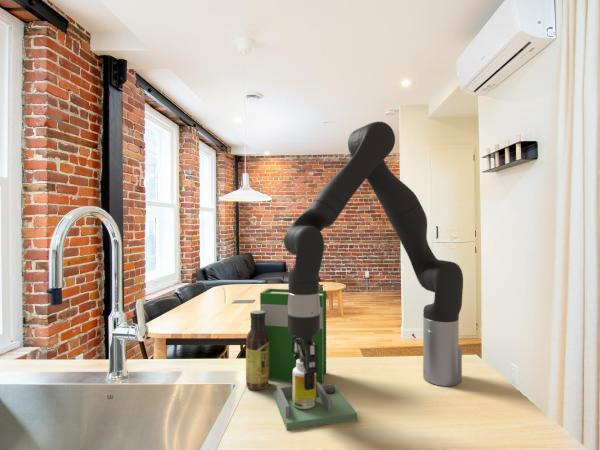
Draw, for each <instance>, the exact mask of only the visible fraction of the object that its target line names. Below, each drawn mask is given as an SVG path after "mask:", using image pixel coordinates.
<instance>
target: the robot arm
mask: <svg viewBox="0 0 600 450" xmlns="http://www.w3.org/2000/svg"><path fill="white" fill-rule="evenodd" d="M395 143H396V135H395V132H394V130H393V128H392V127H391V126H390V125H389V124H388V123H386V122H385V121H384V122H383V121H374V122H370V123H368V124H366V125H364V126H361V127H359V128H357V129H356V130H353V132H351V133H350V135H349V137H348V140H347V147H348V148H347V149H348V151H349V153H350V156H351V158H350V159H349V160H348V161H347V163H346V164H345V165H344V166H343V167H342V168H341V169H339V171H338V172H336V173H335V174H334V176H332V178H330V179H329V181H328V182H326V184H325V185H324V186H323V187H322V188H321V189H320V191H319V192H318V193H317V195H316V196H315V197H314V199H313V201H312V202H311V204H310V205H309V207H308V208H307V209H305V210H304V212H303V213H301V214H300V215H299V216H298V217H297V218H295V219H296V220H294V221H293V222H292V224H291V225H290V226H289V227H288V229H287V230H286V232H285V235H284V237H283V245H284V247H285V249H286V251H288V253H290V254H292V255H293V256H294V255H295V262H294V263H295V264H294V266H293V267H291V269H289V272H288V289H289V295H288V332H289V333H290V334H292V353H294V354H293V356H294V358H295V367H296V360H297V359H299V358H300V362H301V363H302V364H303V369H304V388H305V390H312V389H314V387H315V380H314V373H318V346H317V345H315V344H314V341H313V339H312V336H313V335H315V334H317V333H319V331H320V299H319V291H320V283H319V281H320V279H319V274H320V270H321V267H322V262H323V257H324V252H325V240H324V236H323V233H322V232H321V231H322V230H324V229H325V228H329V227H331V226H332V225H333V224H334V223H335V222H336V220H337V219H338V218H339V216H340V215H341V213H342V212H343V211H344V209H345V207H346V206H347V204H348V203H349V202H350V200H351V199H352V198H353V196H354V195H355V193H356V192H357V190H358V189H359V188H360V187H361V186H362V184H363V183H364V182H365V181H366V180H367V182H368V183H369V186H370V187H371V189H372V190H373V193H374V194H375V196H376V199H377V200H378V201H379V204H380V205H381V207H382V209H383V211H384V213H385V215H386V217H387V219H388V221H389V223H390V225H391V226H392V228H393V230H394V231H395V233H396V235H397V237H398V239H399V242H400V244H401V245H402V247H403V249H404V251H405V252H406V254H407V256H408V259H409V261H410V263H411V264H410V265H411V266H412V267H411V268H412V269H413V272H414V274H415V277H416V279H417V281H418V282H419V284H420V286H421V287H422V288H423V289H425V290H426V291H427V292H432V293H434V298H433V299H434V300H433V303H430V304H426V305H425V306H424V307H423V311H422V312H423V314H422V315H423V316H422V317H423V318H422V320H423V323H422V324H423V325H422V326H423V328H422V329H423V330H422V332H423V335H422V336H423V339H422V340H423V341H422V342H423V343H422V345H423V346H422V347H423V348H422V349H423V350H422V351H423V352H422V354H423V355H422V356H423V357H422V361H423V362H422V366H423V367H422V376H423V379H424V380H425V381H426V382H428V383H430V384H433V385H437V386H440V387H441V386H442V387H452V386H455V385H457V384H458V383H461V382H462V379H463V377H462V375H463V372H462V371H463V365H462V364H463V362H462V358H463V351H462V350H463V348H462V346H460V345H459V343H460V341H459V340H460V339H459V336H460V335H459V332H460V331H459V330H460V329H459V324H460V323H459V321H460V319H459V318H460V316H459V315H460V312H461V310H462V305H463V292H464V275H463V271H462V268H461V267H460V265H459V264H457V263H456V262H453V261H449V260H442V259H438V258H437V257H436V255H434V253H433V251H432V249H431V247H430V245H429V242H428V237H427V234H428V218H427V215H426V212H425V210H424V208H423V205H422V204H421V202H420V200H419V198H418V197H417V195H416V193H415V192H414V191H413V190H411V188H409V187H408V185H406V184H405V183H404V182H403V181H401V179H399V178H398V177H397V176H396V175H394V173H393V172H392V171H391V170H390V169H389V167H388V165H387V163H386V161H385V159H386V158H387V157H388V156H389V155H390V154H391V152H392V151H393V149H394V147H395ZM304 357H306V358H304ZM309 363H311V365H312V367H309Z"/></svg>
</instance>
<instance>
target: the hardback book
mask: <svg viewBox="0 0 600 450" xmlns="http://www.w3.org/2000/svg"><path fill="white" fill-rule="evenodd" d="M288 295H289V288H266V289H265V290H263V291H261V292H260V295H259V300H260V303H259V308H260V310H261V311H265V330H266V333H267V336H268V338H269V380H276V381H278V380H279V381H289V382H290V381H291V382H293V369H294V368H295V358H294V356H293V354H294V353H292V334H290V333H289V332H288ZM319 299H320V331H319V333H317V334H315V335H313V336H312V339H313V341H314V344H315V345H317V346H318V373H316V382H319V383H320V385H324V375H327V290H319ZM304 358H306V357H304Z"/></svg>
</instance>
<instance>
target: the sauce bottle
mask: <svg viewBox="0 0 600 450" xmlns="http://www.w3.org/2000/svg"><path fill="white" fill-rule="evenodd" d="M249 313H250V330H249V331H248V333H247V336H246V338H245V339H246V346H245V381H246V382H245V383H246V385H245V386H246V388H248V389H250V390H254V391H259V390H264V389H265V388H268V386H269V380H270V379H269V338H268V336H267V333H266V330H265V311H261V310H259V309H258V310H252V311H250V312H249Z"/></svg>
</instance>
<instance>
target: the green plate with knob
mask: <svg viewBox="0 0 600 450" xmlns="http://www.w3.org/2000/svg"><path fill="white" fill-rule="evenodd" d="M292 385H293V384H291V385H282V386H281V385H280V386H276V390H274V391H273V399H274V401H275V404H276V406H277V408H278V409H277V410H278V411H279V414H280V416H281V419H282V422H283V424H284V426H285V428H286V431H289V430H291V431H292V430H296V429H303V428H309V427H317V426H323V425H329V424H330V425H331V424H336V423H337V424H338V423H344V422H352V421H357V420H358V417H357V416H358V412H357V411H356V410H355V409H354V408H353V406H352V405H351V404H350V403H349V401H348V400H347V399H346V398H345V396H344V395H343V394H342V393H341V391H340V390H339V389H338V387H337V386H336V385H335V384H333V383H332V384H320V383H319V382H316V404H315V406H314V407H312V408H310V409H299V408H297V407H295V406H294V405H293V402H292Z"/></svg>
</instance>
